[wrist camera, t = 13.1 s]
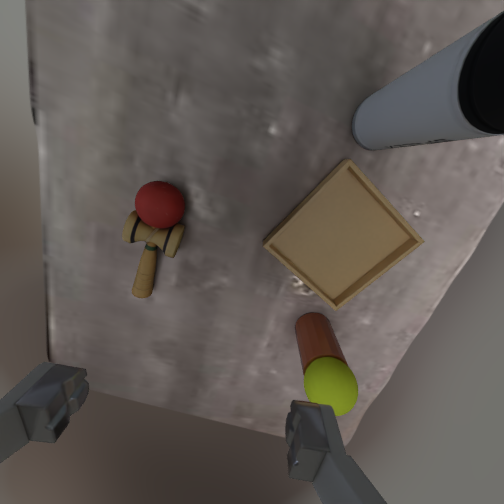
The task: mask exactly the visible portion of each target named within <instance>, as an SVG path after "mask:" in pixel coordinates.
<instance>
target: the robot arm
mask: <svg viewBox="0 0 504 504" xmlns="http://www.w3.org/2000/svg"><path fill="white" fill-rule="evenodd" d="M86 376H87V371H86V369H84V368H78V367H72V366H66V365H61V364H55V363H49V362H43V363H42V364H39V365H38V366H37V367H36V368H35V369H33V370H32V371H31V372H30V373H29V374H28V375H27V376H26V377H25V378H24V379H23V380H21V381H20V382H19V383H18V384H17V385H16V386H15V387H14V388H13V389H12V390H11V391H9V393H7V394H6V395H5V396H4V397H3V398H2V399H1V400H0V463H1V462H3V461H4V460H5V459H7V458H8V457H9V456H11V455H12V454H13V453H15V452H16V451H18V450H19V449H20V448H22V447H23V446H25V445H26V444H27V443H29V440H31V441H39V442H48V443H55V442H56V440H57V439H58V438H59V436H60V435H61V434H62V432H63V431H64V430H65V428H66V427H67V426H68V424H69V421H70V416H71V415H72V414H74V413H75V412H77V411H78V410H79V409H80V408H81V406H82V404H84V402H85V400H86V398H87V395H88V392H89V383H88V382H87V381H86V380H85V379H84V378H85V377H86ZM290 407H291V412H289V413H288V415H287V418H286V426H285V434H286V442H287V444H288V445H289V447H290V449H289V451H288V454H287V460H288V472H289V478H293V479H298V480H304V481H309V482H313V483H312V484H313V486H314V488H315V490H316V492H317V494H318V496H319V497H320V500H321V501H322V503H323V504H387V503H386V501H385V500H384V499H383V498H382V496H381V495H380V494H379V492H378V491H377V490H376V488H375V487H374V486H373V484H372V483H371V482H370V481H369V479H368V478H367V477H366V475H365V474H364V473H363V471H362V470H361V469H360V468H359V466H358V465H357V464H356V462H355V461H354V460H353V459H352V457H351V456H349V455H346V452H345V448H344V445H343V441H342V438H341V434H340V431H339V427H338V424H337V420H336V417H335V413H334V410H333V408H332V406H330V405H324V404H318V403H313V402H305V401H298V400H293V401H292V402H291V405H290Z"/></svg>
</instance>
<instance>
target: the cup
mask: <svg viewBox="0 0 504 504" xmlns="http://www.w3.org/2000/svg"><path fill="white" fill-rule="evenodd" d="M295 333H296V338H297V343H298V349H299V354H300V359H301V364H302V369H303V375H304V376H305V372H306V370H307V368H308V366H309V365H310V364H311V363H312V362H313V361H314V360H316V359H318V358H321V357H333V358H336V359H338V360H340V361H342V362H343V363H345V364H346V365H347V366H348V364H347V362H346V360H345V357H344V355H343V353H342V350H341V348H340V345H339V343H338V341H337V338H336V336H335V334H334V331H333V329H332V326H331V324H330V322H329V320H328V319H327V318H326V317H325V316H324V315H322V314H319V313H308V314H305V315H303V316H301V317H300V318H299V319H298V320H297V322H296V325H295Z"/></svg>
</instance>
